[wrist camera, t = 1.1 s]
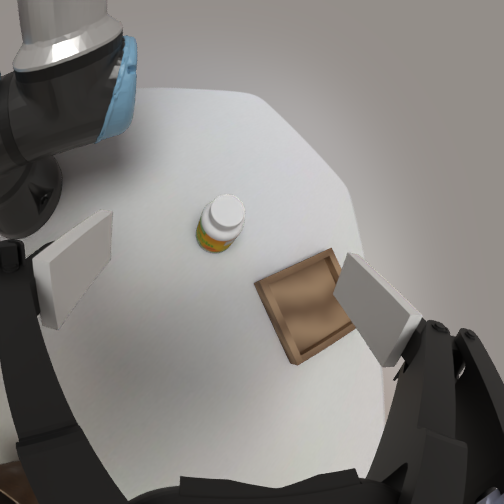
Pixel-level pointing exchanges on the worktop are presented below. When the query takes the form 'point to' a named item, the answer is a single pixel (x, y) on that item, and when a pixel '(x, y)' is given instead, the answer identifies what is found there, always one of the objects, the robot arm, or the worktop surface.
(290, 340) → the box
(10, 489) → the plant pot
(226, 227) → the supplement bottle
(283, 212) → the worktop surface
